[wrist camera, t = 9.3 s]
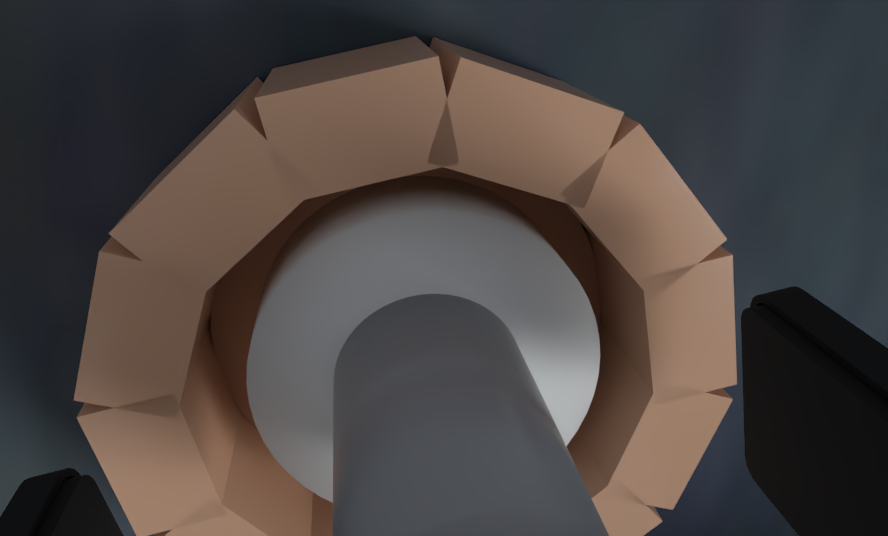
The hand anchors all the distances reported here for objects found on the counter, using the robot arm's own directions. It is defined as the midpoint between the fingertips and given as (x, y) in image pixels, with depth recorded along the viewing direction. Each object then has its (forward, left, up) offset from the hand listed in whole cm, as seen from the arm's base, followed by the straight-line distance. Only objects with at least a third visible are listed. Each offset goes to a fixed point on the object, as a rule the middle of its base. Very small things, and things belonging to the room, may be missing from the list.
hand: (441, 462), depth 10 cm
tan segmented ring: (0, 0, -5) cm, 5 cm away
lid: (0, 0, -4) cm, 4 cm away
